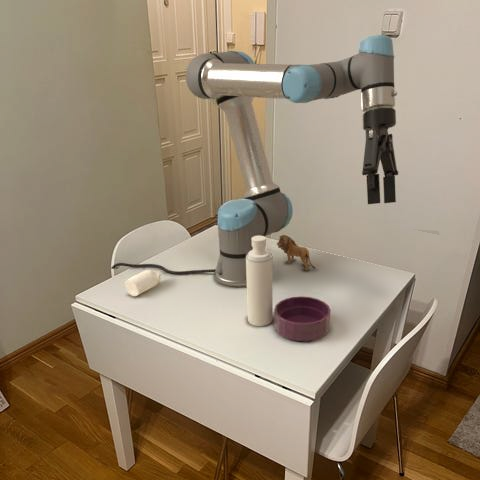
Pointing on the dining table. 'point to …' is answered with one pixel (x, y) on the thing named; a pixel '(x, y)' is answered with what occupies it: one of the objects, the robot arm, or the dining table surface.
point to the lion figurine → (294, 251)
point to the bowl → (302, 318)
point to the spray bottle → (259, 283)
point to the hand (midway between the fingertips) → (382, 203)
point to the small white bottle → (142, 282)
